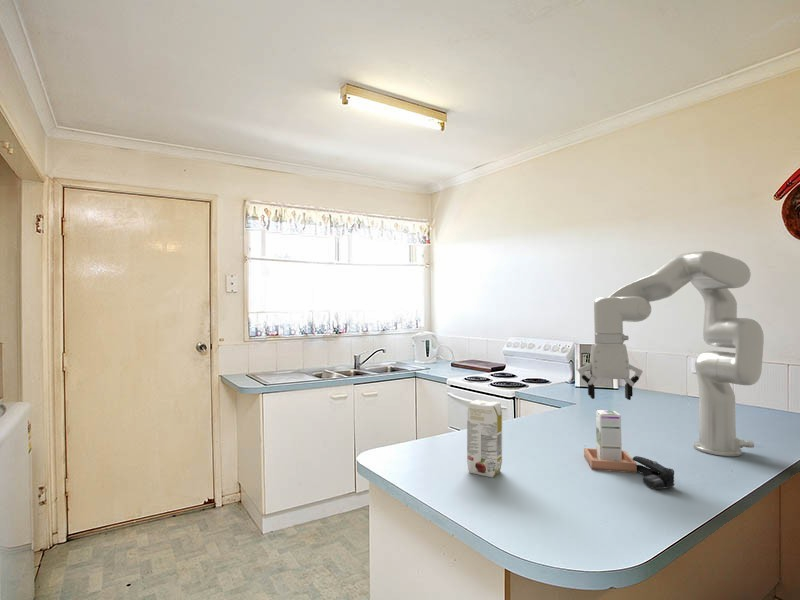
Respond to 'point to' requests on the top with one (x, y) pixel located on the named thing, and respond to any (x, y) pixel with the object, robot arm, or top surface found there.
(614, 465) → the tray
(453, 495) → the top surface
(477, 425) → the juice carton
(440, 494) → the top surface
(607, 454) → the syrup box
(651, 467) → the can opener
